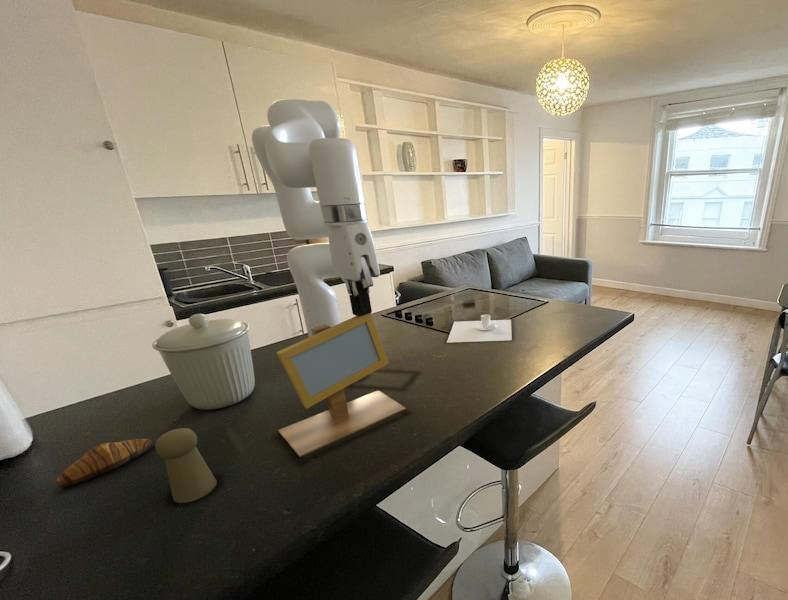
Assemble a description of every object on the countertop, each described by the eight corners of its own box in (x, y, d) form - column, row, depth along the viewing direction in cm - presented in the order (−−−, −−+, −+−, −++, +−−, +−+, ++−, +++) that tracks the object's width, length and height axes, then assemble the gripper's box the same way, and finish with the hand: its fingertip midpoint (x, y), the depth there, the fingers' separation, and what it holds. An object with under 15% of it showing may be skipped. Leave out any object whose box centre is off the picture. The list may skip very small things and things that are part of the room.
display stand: (279, 436, 81) (251, 338, 74) (379, 395, 95) (364, 309, 87) (301, 462, 73) (271, 355, 65) (407, 414, 87) (393, 321, 79)
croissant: (68, 497, 67) (54, 472, 65) (53, 484, 70) (40, 460, 69) (162, 451, 78) (153, 429, 76) (146, 442, 81) (136, 421, 79)
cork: (187, 479, 70) (165, 424, 66) (224, 475, 71) (204, 421, 67) (164, 504, 65) (138, 446, 61) (203, 501, 65) (180, 443, 61)
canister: (159, 412, 92) (123, 324, 84) (232, 377, 108) (207, 300, 100) (215, 425, 86) (182, 331, 78) (284, 386, 102) (262, 305, 94)
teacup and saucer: (498, 331, 132) (497, 319, 130) (473, 332, 132) (472, 320, 130) (498, 323, 140) (498, 311, 138) (475, 323, 140) (474, 312, 139)
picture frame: (303, 406, 77) (276, 352, 71) (385, 361, 87) (367, 310, 81) (306, 409, 76) (278, 354, 70) (388, 363, 86) (370, 312, 80)
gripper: (384, 214, 70) (399, 316, 77) (346, 213, 80) (362, 303, 87) (342, 218, 65) (362, 326, 72) (307, 217, 76) (328, 312, 82)
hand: (362, 313), depth 79 cm, fingers closed
